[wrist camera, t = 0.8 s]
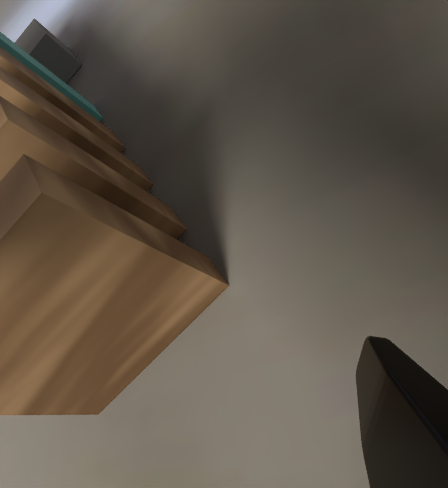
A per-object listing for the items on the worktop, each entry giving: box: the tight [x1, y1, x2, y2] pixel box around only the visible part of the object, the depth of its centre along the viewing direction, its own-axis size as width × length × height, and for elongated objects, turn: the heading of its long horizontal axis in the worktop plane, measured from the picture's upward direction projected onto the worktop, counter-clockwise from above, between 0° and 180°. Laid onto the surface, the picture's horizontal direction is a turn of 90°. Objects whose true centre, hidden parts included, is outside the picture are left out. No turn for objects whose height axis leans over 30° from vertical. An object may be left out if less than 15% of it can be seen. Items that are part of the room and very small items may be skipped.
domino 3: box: [0, 96, 187, 240], centre depth 22 cm, size 2×11×12 cm, turn 126°
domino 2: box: [0, 67, 153, 192], centre depth 25 cm, size 2×11×12 cm, turn 126°
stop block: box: [15, 19, 82, 83], centre depth 39 cm, size 4×14×4 cm, turn 126°
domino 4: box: [0, 154, 229, 415], centre depth 19 cm, size 2×11×12 cm, turn 126°
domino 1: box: [0, 47, 126, 153], centre depth 28 cm, size 2×11×12 cm, turn 126°
